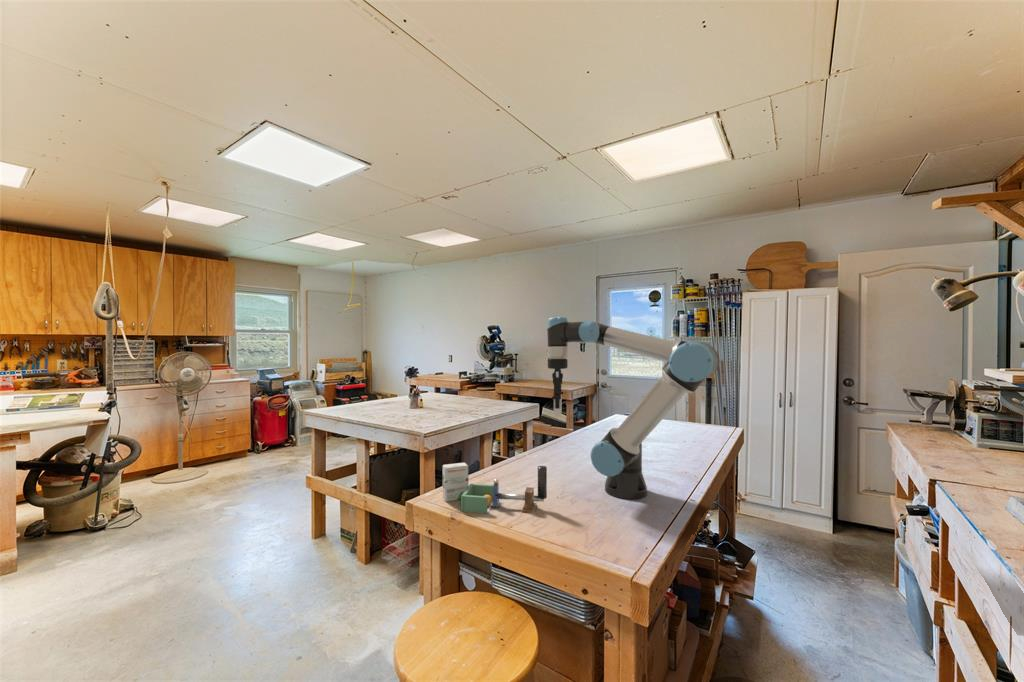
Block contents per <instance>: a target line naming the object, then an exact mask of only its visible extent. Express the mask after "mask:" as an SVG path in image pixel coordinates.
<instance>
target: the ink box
mask: <svg viewBox="0 0 1024 682" xmlns="http://www.w3.org/2000/svg"><path fill="white" fill-rule="evenodd" d="M468 487H469V465H468V464H467V463H466V462H457V463H448V464H447V463H446V464H443V465H442V499H443V500H444V501H445V503H447V502H451V501H452V502H453V501H457V500H461V496H462V494H463V493H464V492H465V490H466V489H467V488H468Z"/></svg>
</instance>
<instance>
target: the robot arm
mask: <svg viewBox="0 0 1024 682" xmlns="http://www.w3.org/2000/svg"><path fill="white" fill-rule="evenodd" d="M546 331H547V349H546V350H545V352H547V357H548V358H547V368H548V369H551V370H553V369H554V371H553V372H552V375H551V376H552V377H551V378H552V384H553V396H551V400H553V418H556V419H557V418H562V412H563V410H562V408H563V406H562V400H563V399H562V397H563V395H564V391H562V385H563V378H564V373H562V369H563V370H565V369H567V368H568V363H569V362H568V357H569V356H568V353H569V352H568V347H569V346H568V343H595V344H600V345H602V346H607V347H611V348H615V349H617V350H621V351H625V352H628V353H632V354H635V355H638V356H639V355H640V356H642V357H643V356H644V357H647V358H651V359H654V360H657V361H661V362H664V363H665V364H664V365H663V367H662V368H661V371H662V372H661V373H662V375H661V376H660V378H659V379H658V380H657V381H656V383H655V384H654V385H653V386H652V387H651V388H650V390H649V391H648V392H647V393H646V394H645V396H644V397H643V398H642V399H641V400H640V402H639V403H638V404H637V405H636V406H635V408H633V409H632V411H631V412H630V413H629V415H628V416H627V417H626V418H625V419H624V421H622V422H621V424H620V425H619V427H612V428H610V429H609V431H608V432H607V434H605V435H604V437H603V438H602V440H600V441H598V442H596V443H595V444H594V445H593V446H592V448H591V449H590V450H591V451H590V461H591V464H592V466H593V467H594V469H595V470H596V471H597V472H598V473H600V474H601V475H602V476H606V480H605V483H604V491H605V492H606V494H608V495H610V496H612V497H615V498H619V499H627V500H636V499H637V500H638V499H643V498H645V497H646V496H647V495H648V487H647V483H646V480H645V478H644V475H643V450H642V448H643V447H642V446H643V444H642V443H643V441H644V440H645V439H647V437H648V436H649V435H650V434H651V433H652V432H653V431H654V429H655V428H657V426H658V425H659V424H660V423H661V422H662V420H663V419H664V418H665V417H666V416H667V415H668V414H669V413H670V412H671V410H672V409H673V408H674V407H675V406H676V404H678V402H679V401H680V400H681V399H682V398H683V396H684V395H686V394H687V393H688V394H689V393H690V394H692V393H693V394H694V393H695V391H696V390H697V389H698V388H699V387H700V386H701V385H702V384H703V383H704V382H705V380H706V379H707V378H709V377H711V376H713V374H714V373H716V371H718V368H719V367H720V362H721V361H720V355H719V353H718V351H717V350H716V349H715V348H714V347H713V346H711V345H710V344H708V343H705V342H699V341H698V342H697V341H685V340H679V341H673V340H668V339H665V338H660V337H656V336H651V335H647V334H643V333H639V332H634V331H630V330H626V329H622V328H618V327H613V326H608V325H605V324H602V323H599V322H596V321H593V320H592V321H591V320H584V321H573V322H572V321H571V322H570V321H568V318H567V317H564V316H563V317H562V316H560V317H559V316H556V317H554V316H553V317H552V316H551V317H549V318H548V320H547V328H546ZM684 397H685V396H684Z"/></svg>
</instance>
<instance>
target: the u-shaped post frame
mask: <svg viewBox="0 0 1024 682" xmlns="http://www.w3.org/2000/svg"><path fill="white" fill-rule="evenodd" d="M547 469H548V468H547V466H546V465H538V466H537V495H536V494H534V495H532V499H533V501H534V502H538V503H539V502H540V503H541V502H543V503H544V502H545V499H547V498H548V496H547V494H548V492H547V491H548V490H547V489H548V488H547V487H548V485H547V483H548V482H547V480H548V477H547V475H548V474H547ZM499 484H500V483H499V479H497V478H495V479H494V480H493V484H492V485H493V504H492V508H498V507H499V505H500V500H510V501H511V500H512V501H524V502H525V494H520V493H519V494H518V493H503V492H499V491H500V489H499V488H500V487H499Z"/></svg>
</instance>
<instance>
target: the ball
mask: <svg viewBox="0 0 1024 682" xmlns="http://www.w3.org/2000/svg"><path fill="white" fill-rule="evenodd" d="M484 496H487V507H489V506H490V505H491V503H492V497H491V496H490V495H484Z"/></svg>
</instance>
